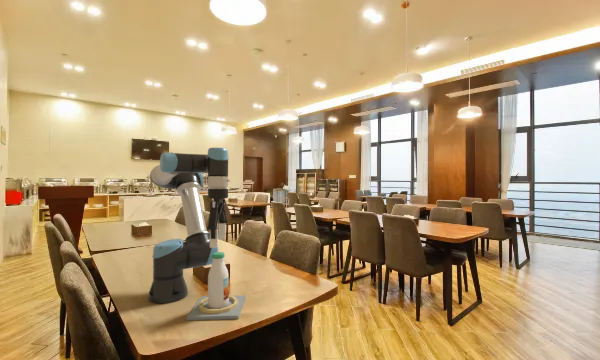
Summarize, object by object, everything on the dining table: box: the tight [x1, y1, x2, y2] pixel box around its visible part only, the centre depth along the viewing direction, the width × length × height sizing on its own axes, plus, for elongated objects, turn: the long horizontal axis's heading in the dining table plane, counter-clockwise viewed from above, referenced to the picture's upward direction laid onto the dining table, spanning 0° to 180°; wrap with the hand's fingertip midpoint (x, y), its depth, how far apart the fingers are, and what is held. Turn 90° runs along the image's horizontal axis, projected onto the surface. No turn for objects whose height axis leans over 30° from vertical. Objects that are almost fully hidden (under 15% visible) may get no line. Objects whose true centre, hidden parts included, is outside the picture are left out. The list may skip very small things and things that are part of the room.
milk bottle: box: [207, 251, 230, 309], centre depth 112 cm, size 8×8×20 cm
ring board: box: [186, 294, 246, 321], centre depth 112 cm, size 18×18×2 cm
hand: (218, 243), depth 112 cm, fingers open, 13 cm apart
